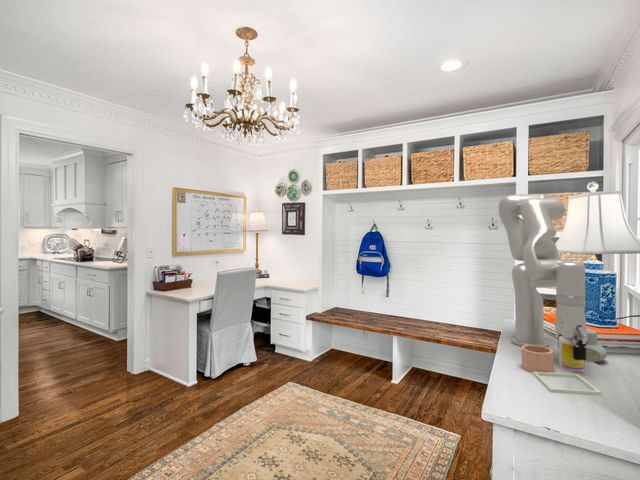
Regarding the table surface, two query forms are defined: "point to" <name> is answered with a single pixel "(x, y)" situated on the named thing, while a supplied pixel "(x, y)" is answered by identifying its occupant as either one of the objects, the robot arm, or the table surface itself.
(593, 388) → the tray
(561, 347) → the supplement bottle
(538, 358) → the pot
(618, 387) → the table surface
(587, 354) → the air freshener
